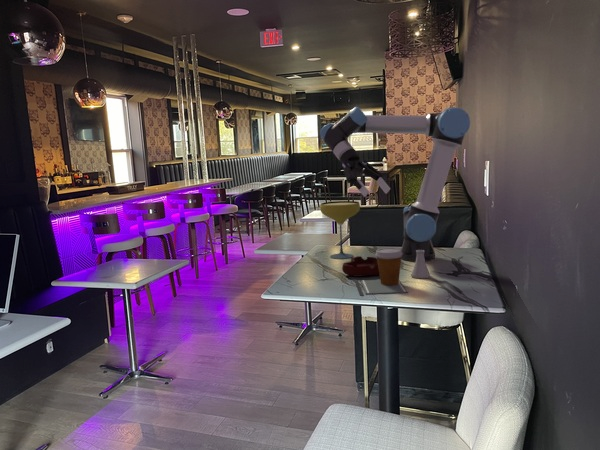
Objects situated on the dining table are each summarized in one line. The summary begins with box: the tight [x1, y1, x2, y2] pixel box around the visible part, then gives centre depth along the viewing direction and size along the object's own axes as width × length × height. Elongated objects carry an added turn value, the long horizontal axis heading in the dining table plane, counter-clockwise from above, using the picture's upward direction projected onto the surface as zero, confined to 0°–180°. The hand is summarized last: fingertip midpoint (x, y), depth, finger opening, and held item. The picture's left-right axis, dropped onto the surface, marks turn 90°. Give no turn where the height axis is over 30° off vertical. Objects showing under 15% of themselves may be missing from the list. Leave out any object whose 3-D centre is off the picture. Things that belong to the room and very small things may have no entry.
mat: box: [360, 279, 409, 295], centre depth 162 cm, size 14×16×1 cm
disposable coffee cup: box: [374, 247, 402, 285], centre depth 164 cm, size 10×10×12 cm
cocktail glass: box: [319, 200, 361, 260], centre depth 212 cm, size 18×18×25 cm
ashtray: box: [341, 255, 380, 278], centre depth 182 cm, size 18×16×5 cm
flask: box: [410, 250, 431, 279], centre depth 173 cm, size 7×7×10 cm
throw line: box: [354, 279, 364, 297], centre depth 162 cm, size 1×19×1 cm, turn 179°
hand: (377, 192), depth 177 cm, fingers open, 13 cm apart
